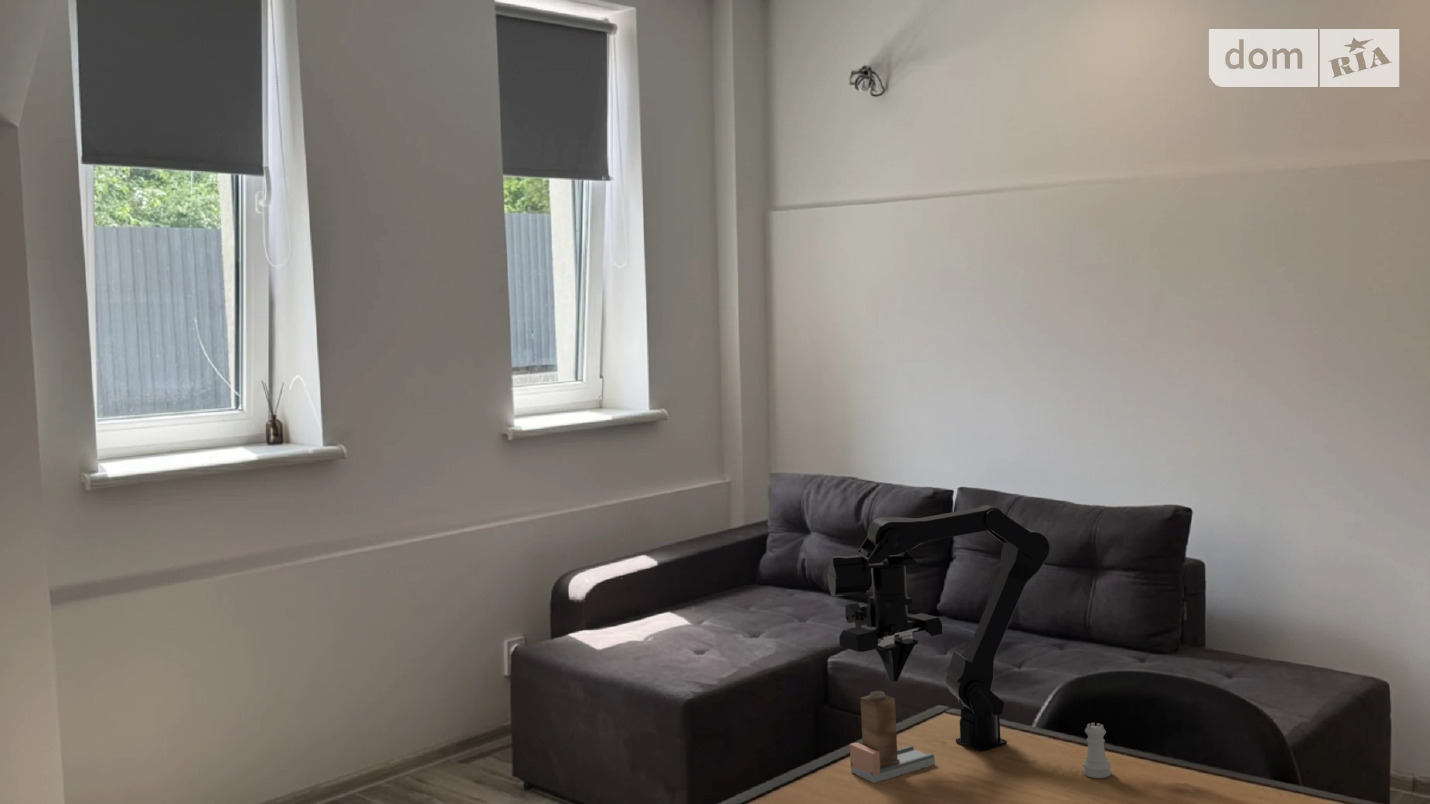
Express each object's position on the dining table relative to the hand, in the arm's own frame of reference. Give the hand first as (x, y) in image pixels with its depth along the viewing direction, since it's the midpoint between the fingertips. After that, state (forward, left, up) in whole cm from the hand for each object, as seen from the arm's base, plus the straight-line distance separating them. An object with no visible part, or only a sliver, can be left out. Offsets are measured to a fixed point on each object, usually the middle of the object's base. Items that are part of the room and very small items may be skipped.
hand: (893, 681), depth 205 cm
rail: (+5, +5, -12) cm, 15 cm away
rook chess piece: (-18, +28, -13) cm, 36 cm away
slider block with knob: (+8, +5, -11) cm, 15 cm away
